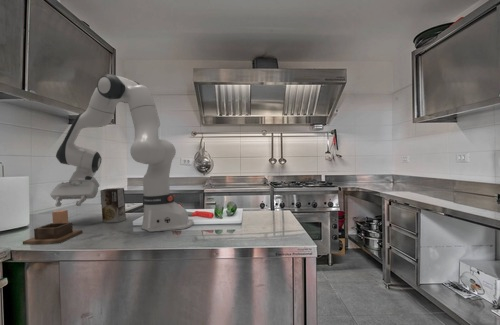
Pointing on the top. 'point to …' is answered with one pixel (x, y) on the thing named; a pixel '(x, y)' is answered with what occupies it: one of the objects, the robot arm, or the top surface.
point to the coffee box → (113, 205)
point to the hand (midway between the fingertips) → (67, 205)
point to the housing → (53, 233)
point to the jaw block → (60, 216)
